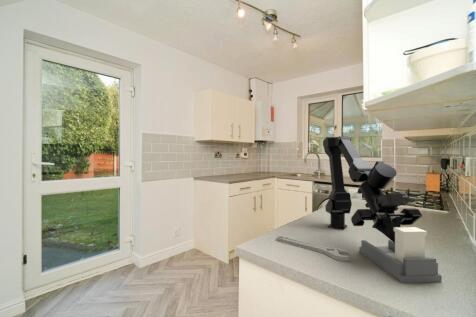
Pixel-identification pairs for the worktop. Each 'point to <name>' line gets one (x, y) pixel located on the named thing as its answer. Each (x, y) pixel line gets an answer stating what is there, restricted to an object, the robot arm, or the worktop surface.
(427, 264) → the switch housing
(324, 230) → the worktop surface
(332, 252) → the adjustable wrench
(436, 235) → the worktop surface
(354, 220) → the robot arm
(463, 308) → the worktop surface
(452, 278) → the worktop surface
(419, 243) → the switch tab
